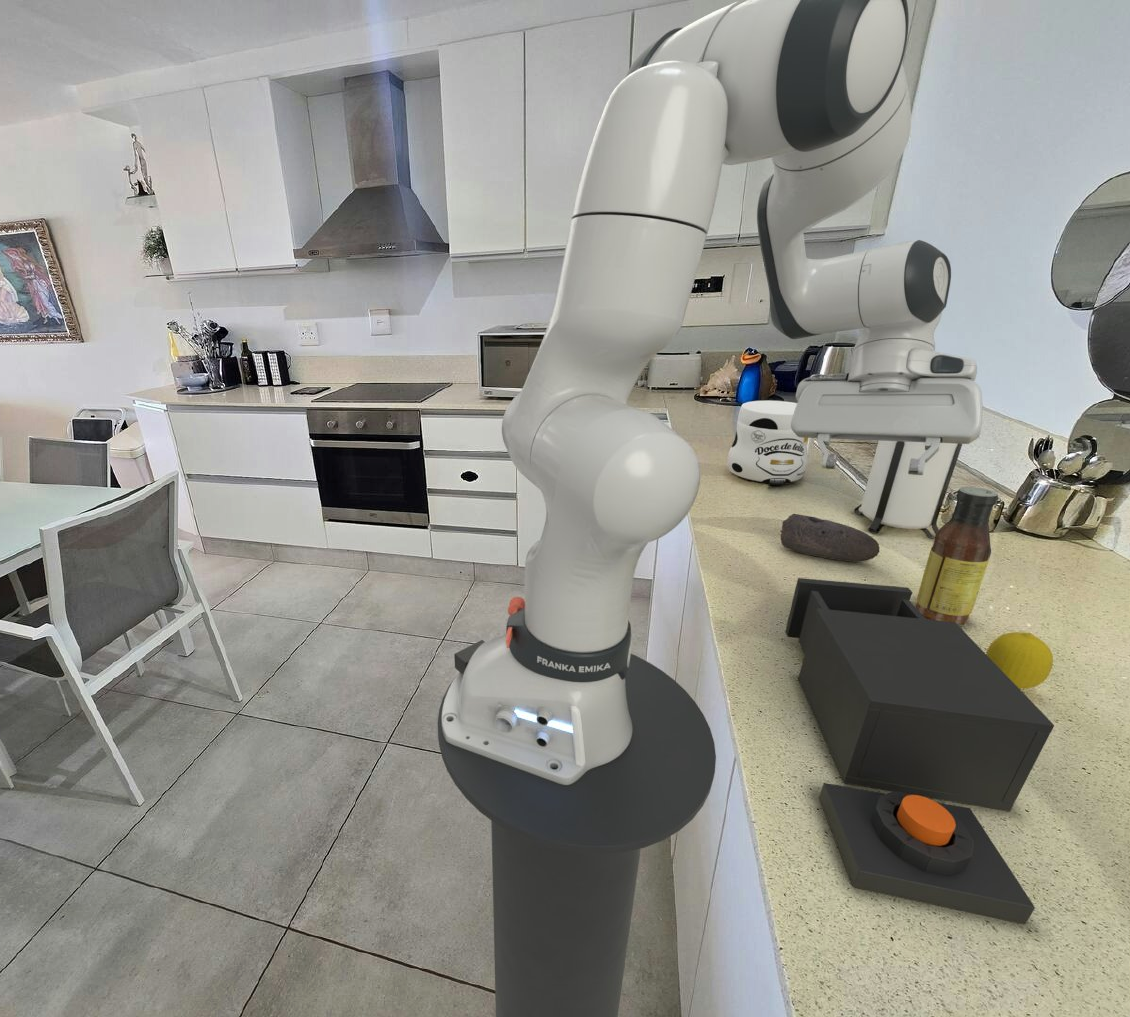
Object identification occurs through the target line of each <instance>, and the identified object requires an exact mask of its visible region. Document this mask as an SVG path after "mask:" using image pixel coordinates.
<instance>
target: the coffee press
mask: <svg viewBox="0 0 1130 1017" xmlns="http://www.w3.org/2000/svg"><path fill="white" fill-rule="evenodd" d="M962 447H963V444H956V443H940V445H939V451H938V452H937V453H936V454H935V455H934V456H933V457H932V458H931V459H930V460H929V461H928V462H927V463H925V466H924V472H923V475H913V474H908V471H909V467H910V460H911V459H919V458H920V457H921V456H922V455H923V454H924V453H925V452H926V451H927V450H925V442H905V441H880V440H878V443H877V445H876V449H875V452H874V457H873V460H872V464H871V468H870V471H869V474H868V479H867V483H866V486H865V490H864V494H863V498H862V501H861V503H860V504H859V505H857V506H856V507H854V509H853V512H854V513H855V514H856V515H863V516H864V517H866V518H868V519H869V520H870V521H871V523H870V525H868V528H867V529H868V532H871V533H874V534H876V535H877V534H878V533H880V531H881V530H882V529H883V528H884V527H885V526H888V527H892V528H896V529H903V530H920V531H922V532H924V535H925V536H926V537H927V538H928V539H931V540H935V536H936V533H937V531H938V530H939V529H940V528H939V527H938V524H937V522H938V519H939V515H940V512H941V510H942V507H943V505H944V504H943V503H944V500H945V498H946V495H947V491H948V488H949V486H950V484H951V480H952V477H953V474H954V470H955V467H956V464H957V461H958V459H959V456H960V453H961V450H962ZM860 510H861V511H860ZM929 527H931V528H932V530H933V532H934V535H933V534H932V533H931V531H930V530H929V529H928V528H929Z"/></svg>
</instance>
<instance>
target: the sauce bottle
mask: <svg viewBox="0 0 1130 1017" xmlns="http://www.w3.org/2000/svg"><path fill="white" fill-rule="evenodd" d="M998 498H999V494H998V492H996V491H994V490H992V489H988V488H985V487H979V486H978V487H977V486H961V487H959V489H957V492H956V502H955V506H954V510H953V512H952V514H951V518H950V519H949V520H948V521H947V522H945V524H943V525H942V526H941V527H940V528H938V529H939V530H938V531H937V533H936V535H934V536H935V538H934V539H933V540H934V541H933V544H932V546H931V547H930V551H929V554H928V558H927V561H926V565H925V567H924V571H923V575H922V578H921V581H920V586H919V589H918V592H917V596H916V604H915V607H916V608H917V609H918V610H919V612H920V613H921V614H922V615H923V616H924V617H925V618H926V619H928V620H938V621H948V622H955V623H956V624H957V625H958V626H960V625H964V624H966V623H967V622H968V620H969V618H970V615H971V614H972V613H973V610H974V607H975V604H976V601H977V598H978V595H979V592H980V589H981V586H982V583H983V580H984V576H985V574H986V572H987V567H988V565H989V561H990V559H991V555H992V549H991V548H992V546H991V536H990V526H989V525H990V524H989V522H990V517H991V514H992V511H993V507H994V506H995V505H996V504H997V502H998Z"/></svg>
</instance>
